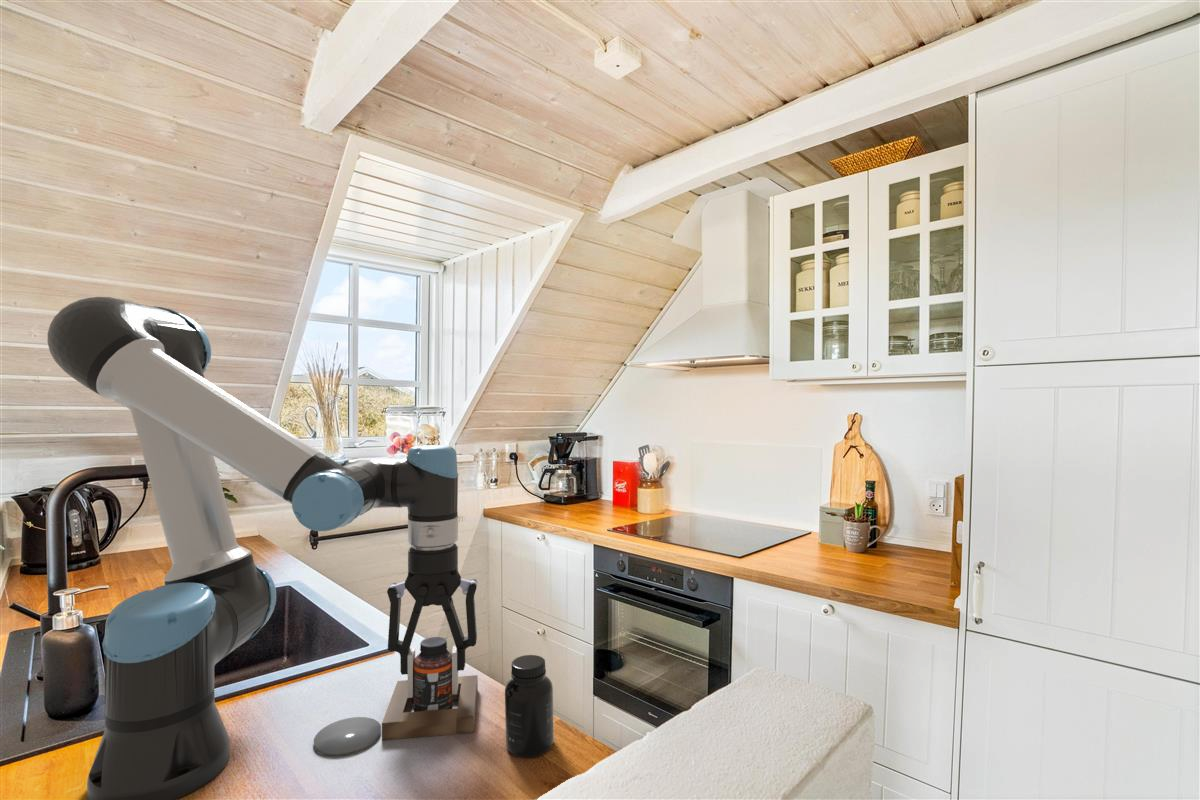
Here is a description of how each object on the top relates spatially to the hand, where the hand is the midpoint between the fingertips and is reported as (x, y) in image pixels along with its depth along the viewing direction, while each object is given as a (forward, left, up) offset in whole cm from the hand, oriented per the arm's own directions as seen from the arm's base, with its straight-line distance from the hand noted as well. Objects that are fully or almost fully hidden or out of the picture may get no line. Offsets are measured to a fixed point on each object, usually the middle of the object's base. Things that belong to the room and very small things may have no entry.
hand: (433, 691), depth 94 cm
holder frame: (0, 0, -3) cm, 3 cm away
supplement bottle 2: (+14, -11, -4) cm, 19 cm away
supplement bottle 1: (0, 0, -4) cm, 4 cm away
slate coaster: (-12, -5, -3) cm, 13 cm away
